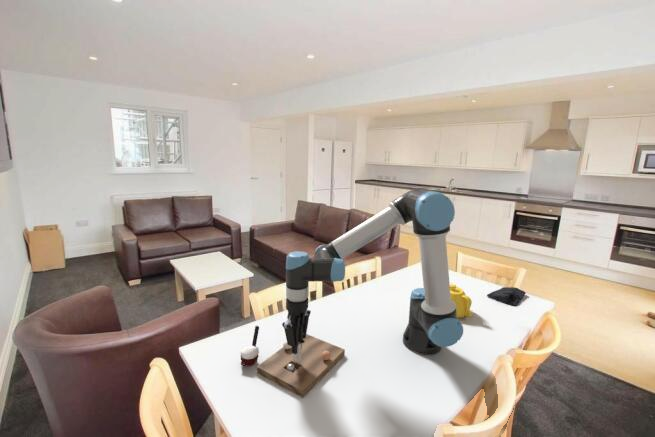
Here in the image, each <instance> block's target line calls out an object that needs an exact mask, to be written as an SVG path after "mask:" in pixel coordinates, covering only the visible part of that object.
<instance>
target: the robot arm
mask: <svg viewBox="0 0 655 437" xmlns="http://www.w3.org/2000/svg"><path fill="white" fill-rule="evenodd" d="M455 212H456V211H455V205H454V203H453V201H452V200H451V199H450V197H448V196H447V195H445V194H443V193H442V192H439V191H435V190H431V189H428V188H424V187H417V188H414V189H413V188H412V189H411V190H409V191H407V192H405V193H403V194H402V195H400V196H398V197H397V198H395V199H394V200H392V201H390V202H389V204H388V207H386V208H385V209H382V210H381V211H380V212H378V213H377V214H375V215H373V216H371V217H370V218H368V219H366V220H365V221H363V222H362V223H360V224H358V225H357V226H355V227H353V228H352V229H350V230H349V231H347V232H345V233H344V234H343V235H341V236H339V237H337V238H336V239H334V240H332V241H331V242H329V243H327V244H321V245H319V246H317V247H316V249H315V251H314V254H313V257H314V258H310V255H309V253H308V252H306V251H302V250H301V251H300V250H299V251H298V250H296V251H291V252H288V254H287V255H286V261H285V288H286V289H285V296H286V297H285V309H286V311H287V317H286V318H287V319H286V321H285V322H284V321H283V322H282V323H281V325H282V326H281V327H283V329H284V333H285V334H284V335H285V339H286V340H287V344H288V345H290V346H292V360H294V361H297V362H300V361H301V349H302V343H304V342H305V341H304V340H303V338H306V334H307V333H308V332H307V331H308V328H309V327H308V324H309V320H310V316H311V312H312V311H311V310H310V309H309V296H310V294H309V293H310V292H309V290H310V289H309V288H310V287H309V282H333V283H335V282H343V281H344V279H345V276H346V264H345V260H344V258H346V257H348V256H349V255H351V254H353V253H354V252H356V251H358V250H359V249H361V248H363V247H364V246H366V245H367V244H369V243H371V242H372V241H374V240H376V239H377V238H379V237H381V236H383V235H384V234H386V233H387V232H389V231H391V230H392V229H395V227H398V226H400V225H403V226H404V225H406V224H407V223H410V222H412V231H413V232H412V233H413V234H414V235H415V236H417V238H418V244H419V253H420V264H421V272H422V273H421V274H422V281H423V282H422V284H423V287H417V288H414V289H413V290H412V291H411V293H410V298H409V299H410V300H409V301H410V302H409V312H408V323H407V326H406V328H405V330H404V332H403V334H402V342H403V345H404V346H405V348H407V349H409V350H410V351H412V352H414V353H416V354H417V353H418V354H421V355H435V354H437V353H439V352H440V351H441V350H442V348H445V347H446V348H447V347H448V348H449V347H451V346H453V345H455V344H457V343H458V341H460V340H461V338H462V337H463V335H464V326H463V324H462V321H460V319H459V318H457V311H456V304H455V303H454V302H453V301H452V300H451V296H450V284H451V283H450V274H449V272H450V271H449V263H448V262H449V261H448V260H449V259H448V251H447V250H448V249H447V247H448V246H447V235H448V233H450V231H451V224H452V222H453V221H454V219H455ZM303 333H304V334H303Z"/></svg>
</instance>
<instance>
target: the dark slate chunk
mask: <svg viewBox="0 0 655 437" xmlns="http://www.w3.org/2000/svg"><path fill="white" fill-rule="evenodd" d="M526 294H527V292H525V291H524V290H522V289H519V288H517V287H513V286H511V287H510V286H509V287H508V286H507V287H506V286H504V287H501V288H499V289H496V290H494V291H492V292H490V293H487V295H486V297H487V298H488V299H491V300H494V301H496V302H498V303H501V304H504V305H509V306H513V307H516V306H517V305H518V304H519V303H520V302H521V301H522V299H523V298H524V296H525V295H526Z"/></svg>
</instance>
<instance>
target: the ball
mask: <svg viewBox="0 0 655 437" xmlns="http://www.w3.org/2000/svg"><path fill="white" fill-rule="evenodd" d="M286 370H288V371H290V372H292V373H294V372H295V371H296V369H295V366H294V365H293V364H288V365H287V367H286Z"/></svg>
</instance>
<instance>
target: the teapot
mask: <svg viewBox="0 0 655 437" xmlns="http://www.w3.org/2000/svg"><path fill="white" fill-rule="evenodd" d="M449 284H450V296H451V300H452V301H453V302H454V303H455V304H456V311H457V319H462V318H463V317H468V318H469V317H472V316H473V314H472V311H471V307H472V304H473V302H472V299H471V298H470V297H469V296H468V295H467V294H466V293H465V291H464V289H462V288H460V287H458V286H457V285H455V284H452V283H449Z"/></svg>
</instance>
